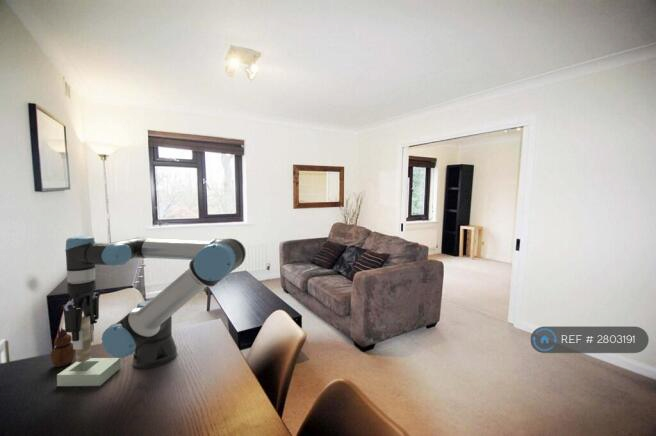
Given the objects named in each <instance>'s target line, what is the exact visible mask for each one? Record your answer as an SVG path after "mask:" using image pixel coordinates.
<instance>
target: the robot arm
mask: <svg viewBox="0 0 656 436" xmlns="http://www.w3.org/2000/svg"><path fill="white" fill-rule="evenodd" d="M64 251H65V259H66V261H65V262H66V264H65V265H66V280H67V281H66V282H67V284H66V287H67V288H66V291H67V292H66V293H67V294H68V295H69V296H70V297H69V301H68V302H67V304H62V306H61V309H62V310H63V315H64V317H63V319H64V329H65V332H67V333H71V338H72V339H71V342H72V343H73V349H75V350H76V349H83V330H80V328H81V321H82V316H90V329H91V344H92V343H94V341H95V340H94V339H95V338H94V331H95V329H94V327H95V324H97V323H98V320H99V318H100V314H99V313H100V312H99V311H100V309H99V308H100V296H101V292H94V291H95V290H96V289H97V285H96V284H97V283H96V280H95V279H97V277H96V276H97V275H96V266H98V265H99V266H112V267H113V266H114V267H115V266H124V265H125V264H127V263H128V262H129V261H130V260H133V259H137V258H138V259H158V260H159V259H160V260H183V261H187V260H188V261H189V264H188V265H189V266H188V267H189V268H188V269H187V270H185V271H184V272H183V273H181V274H180V275H179V276H178V277H177V278H176V279H175V280H173V281H171V283H170V284H169V285H168V286H166V287H165V288H164V289H163V290H162V291H160V292H159V293H158V294H157V295H156V296H155V297H153V298H152V299H151V300H150V299H149V300H146V301H141V302H139V303H138V304H137V306H136V307H135V308H133V309H132V310H131V311H129V313H127V314H126V315H125V316H124V317H123V318H121V319H120V320H119V321H117V322H115V323H114V324H111V325H109V326H108V327H107V328H106V329H105V330H104V331H103V333H102V334H101V335H102V336H101V345H102V347H103V349H104V350H105V352H106V353H107V354H108V355H110V356H112V358H120V359H124V358H127V357H130V356H131V355H133V356H132V365H133V366H134V367H135V368H136V369H138V368H139V369H152V368H156V367H159V366H163V365H165V364H167V363H169V362H170V361H172V360H173V359H174V358H176V357H177V353H178V349H177V348H178V347H177V344H176V343H175V340H174V338H173V334H172V329H173V328H172V326H173V325H172V322H173V321H172V316H173V315H174V314H175V313H176V312H178V311H179V310H180V309H181V308H182V307H184V306H185V305H186V304H187V303H188V302H189V301H191V300H192V299H193V298H195V297H196V296H197V295H198V294H199V293H200V292H201V291H203V290H204V289H205V288H206V287H210V288H212V287H215V286H216V285H217V284H218V283H219V282H221V281H222V280H223V279H224V278H225V277H227V276H228V275H229V274H231V272H233V271H235V270H236V269H237V268H240V266H242V264H243V263H244V261H245V258H246V254H247V253H246V248H245V247H244V245H243V244H242V242H240V241H239V240H237V239H235V238H213V239H212V240H186V239H163V238H162V239H157V238H148V237H146V236H145V237H144V236H143V237H142V236H140V237H135V238H130V239H125V240H120V241H119V240H118V241H114V242H107V243H106V242H96V241H95V237H94V236H91V235H90V236H89V235H88V236H87V235H86V236H85V235H81V236H73V237H68V238H67V239H66V240H65V250H64Z"/></svg>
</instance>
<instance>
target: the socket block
mask: <svg viewBox="0 0 656 436" xmlns="http://www.w3.org/2000/svg"><path fill="white" fill-rule="evenodd" d="M120 369H121V358H117V357H91V358H90V359H89V360H87V361H83V362H77V361H75V362H74V363H72V364H71V365H70V366H68V367H66V368H65V369H63V370H62V371H61V372H59V373H57V374H56V387H100V386H102V385H103V384H104V383H105V382H107V381H108V380H109V379H110V378H112V376H113V375H114V374H115V373H117V372H118V371H119V370H120Z"/></svg>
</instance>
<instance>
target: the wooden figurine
mask: <svg viewBox="0 0 656 436" xmlns="http://www.w3.org/2000/svg"><path fill="white" fill-rule="evenodd" d="M53 346H54V347H53V349H52V350H51V352H50V361H51V363H52V364H53V366H54V367H57V368H60V367H64V366H65V367H66V366H67V365H69V364H71V363H72V362H73V361H74V358H75V356H76V349H73V342H72V334H68V332H65V328H64V329H63V327H61V329H60V328H59V327H58V328H57V337H55V338H54V341H53Z"/></svg>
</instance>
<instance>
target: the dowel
mask: <svg viewBox="0 0 656 436" xmlns="http://www.w3.org/2000/svg"><path fill="white" fill-rule="evenodd" d="M80 330H83V349H75V356H76V357H75V358H76V361H75V362H83V361H87V360H89V359H90V358H92V343H91V329H90V316H84V315H82V321H81V328H80Z"/></svg>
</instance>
